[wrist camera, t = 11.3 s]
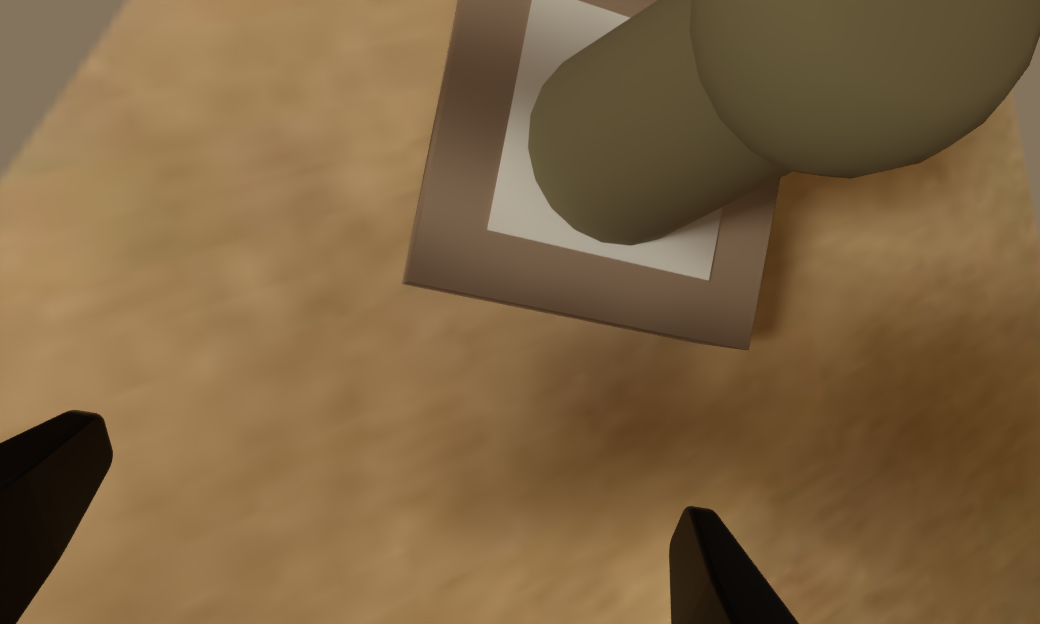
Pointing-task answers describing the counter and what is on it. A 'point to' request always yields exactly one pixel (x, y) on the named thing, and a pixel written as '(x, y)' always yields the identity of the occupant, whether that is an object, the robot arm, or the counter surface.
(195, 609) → the counter surface
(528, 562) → the counter surface
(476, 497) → the counter surface
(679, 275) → the walnut plinth
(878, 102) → the olive green peg figure
